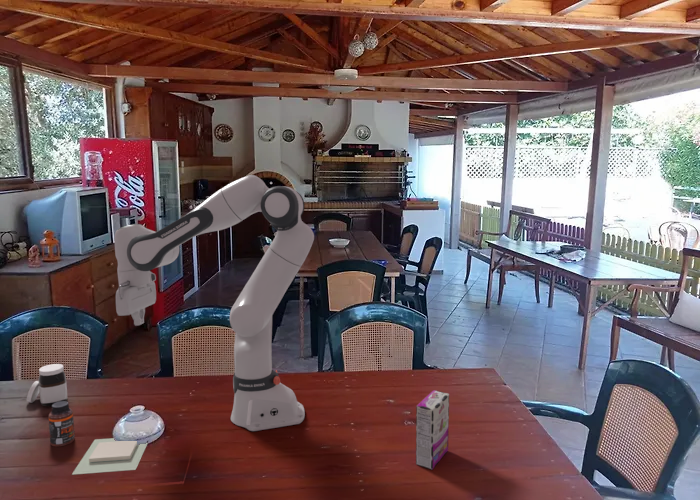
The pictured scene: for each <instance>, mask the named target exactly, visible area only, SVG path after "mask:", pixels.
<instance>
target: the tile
mask: <svg viewBox="0 0 700 500" xmlns="http://www.w3.org/2000/svg"><path fill="white" fill-rule="evenodd" d="M136 447H137V441H116V442H102V443H99V444H98V445H97V447H96V448H95V450H94V451H93V453H92V455H91V456H90V458H89V462H90V463H92V462H105V461H118V460H130V459H131V457H132V455H133V453H134V451H135V449H136Z"/></svg>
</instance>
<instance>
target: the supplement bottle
mask: <svg viewBox="0 0 700 500" xmlns="http://www.w3.org/2000/svg"><path fill="white" fill-rule="evenodd" d="M69 407H70V406H69V402H68V401H67V400H66V401H61V402H56V403H54V404H53V405H52V406H51V411H50V412H49V414H48V430H49V442H50V445H51V446H53V447H54V448H55V447H64V446H67V445H69V444H72V443H73V442H74V440H75V439H76V438H75V437H76V435H75V432H76V431H75V424H74V423H75V421H74V411H73V409H72V408H69Z"/></svg>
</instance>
